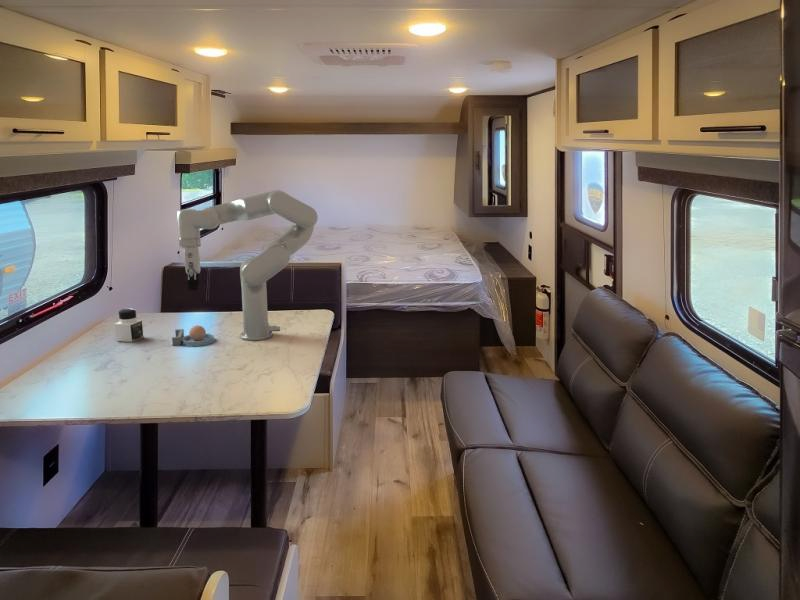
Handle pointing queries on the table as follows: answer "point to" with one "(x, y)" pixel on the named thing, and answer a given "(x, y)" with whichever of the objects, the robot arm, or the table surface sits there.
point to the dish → (189, 342)
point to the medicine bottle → (128, 326)
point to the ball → (197, 333)
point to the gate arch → (178, 337)
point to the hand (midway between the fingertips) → (193, 287)
